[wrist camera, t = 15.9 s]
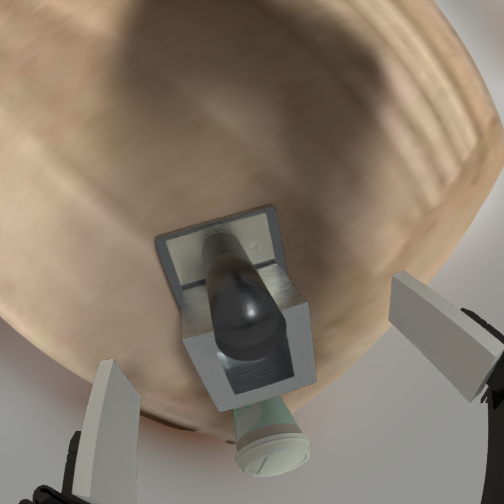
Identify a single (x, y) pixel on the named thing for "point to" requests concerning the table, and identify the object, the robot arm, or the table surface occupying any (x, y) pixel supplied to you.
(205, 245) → the black tapered cylinder
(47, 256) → the table surface
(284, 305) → the square frame housing
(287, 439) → the coffee cup
